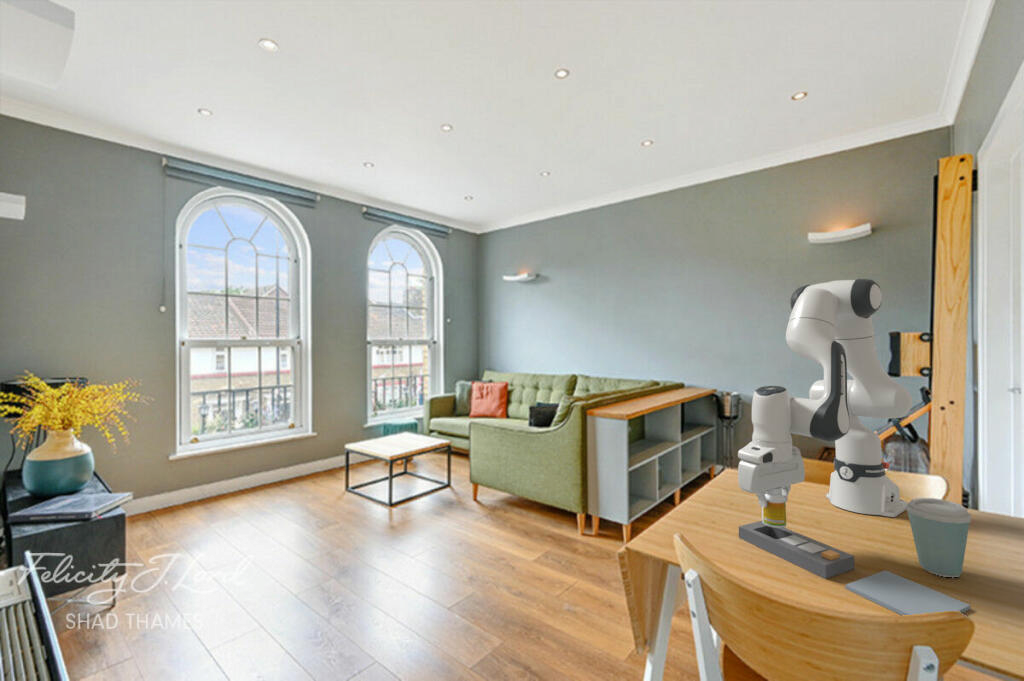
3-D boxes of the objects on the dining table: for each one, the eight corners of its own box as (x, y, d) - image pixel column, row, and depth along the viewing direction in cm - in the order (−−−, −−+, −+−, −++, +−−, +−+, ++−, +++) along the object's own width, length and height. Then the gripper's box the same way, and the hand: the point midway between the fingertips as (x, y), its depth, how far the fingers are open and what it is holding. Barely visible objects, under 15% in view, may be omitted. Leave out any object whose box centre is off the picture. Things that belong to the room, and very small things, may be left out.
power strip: (765, 530, 120) (765, 516, 120) (854, 569, 100) (854, 552, 100) (738, 537, 116) (738, 523, 116) (825, 579, 96) (825, 561, 96)
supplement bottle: (790, 529, 110) (788, 490, 110) (766, 528, 111) (765, 489, 111) (781, 520, 115) (780, 483, 115) (759, 519, 116) (757, 482, 116)
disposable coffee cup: (958, 588, 91) (957, 516, 91) (896, 564, 101) (895, 499, 101) (983, 577, 96) (982, 508, 96) (921, 555, 105) (920, 492, 105)
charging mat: (885, 573, 98) (885, 570, 98) (970, 609, 85) (970, 605, 85) (845, 588, 92) (845, 584, 92) (929, 628, 79) (929, 624, 79)
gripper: (787, 442, 119) (789, 493, 120) (732, 452, 112) (734, 506, 112) (811, 447, 114) (812, 501, 114) (755, 458, 106) (756, 515, 106)
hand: (773, 504), depth 113 cm, fingers closed on supplement bottle, 5 cm apart
